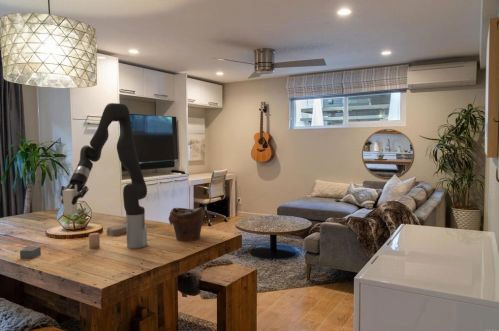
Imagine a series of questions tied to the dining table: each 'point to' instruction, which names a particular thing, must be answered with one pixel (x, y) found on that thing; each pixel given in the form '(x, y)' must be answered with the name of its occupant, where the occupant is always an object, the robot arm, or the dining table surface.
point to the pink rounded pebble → (94, 240)
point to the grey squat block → (30, 252)
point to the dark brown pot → (187, 223)
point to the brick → (117, 230)
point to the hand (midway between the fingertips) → (68, 203)
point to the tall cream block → (69, 202)
